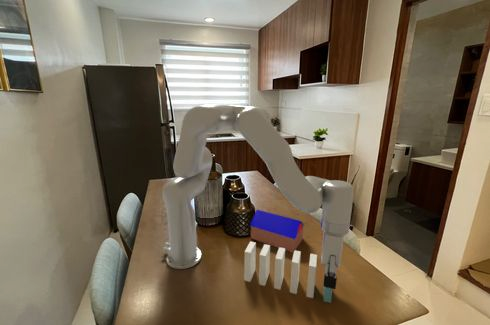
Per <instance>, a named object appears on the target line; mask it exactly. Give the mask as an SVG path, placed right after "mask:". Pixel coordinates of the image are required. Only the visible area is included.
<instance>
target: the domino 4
mask: <svg viewBox="0 0 490 325" xmlns="http://www.w3.org/2000/svg"><path fill="white" fill-rule="evenodd" d="M301 253H302V251H301V250H297V249H296V250H294V253H292V254H293V255H292V260H291V267H290V268H291V269H290V286H289V293H291V294H295V295H297V293H298V287H299V283H300V282H299V281H300V268H301V255H302V254H301Z"/></svg>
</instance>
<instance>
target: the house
mask: <svg viewBox="0 0 490 325" xmlns="http://www.w3.org/2000/svg"><path fill="white" fill-rule="evenodd" d="M249 226H250V239H252V240H255V241H257V242H259V243H260V242H261V243H263V244H266V245H270V246H272V247H276V248H278V249H279V247H281V248H285V251H287V252H290V253H292V254H294V250H296V251H297V249H298V247H299V246H300V244H301V243H302V241H303V237H304V227H305V224H304V223H303V222H302V220H299V219H296V218H290V217H287V216H283V215H280V214H276V213H272V212H267V211H264V210H260V209H256V210H255V212H254V215H253V217H252V220H251V222H250V225H249Z"/></svg>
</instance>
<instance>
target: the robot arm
mask: <svg viewBox="0 0 490 325" xmlns="http://www.w3.org/2000/svg"><path fill="white" fill-rule="evenodd" d="M225 131H232V132H233V131H234V132H239V133H240V135H241V136H242V137H243V138H244V139H245V141H246V142H247V143H248V144H249V145H250V146H251V147H252V149H253V150H254V151H255V152H256V153H257V154H258V156H259V157H260V158H261V160H262V161H263V162H264V163H265V164H266V167H267V169H268V171H269V174H270V175H271V178H272V179H273V181H274V182H275V184H276V186H277V188H278V189H279V190H280V192H281V193H282V194H283V196H284V197H285V199H287V200H288V202H289V203H290V204H291V205H292V206H293V208H295V209H296V210H297V211H298V212H299V211H300V212H302V213H304V214H314V213H316V212H318V211H319V210H320V208H321V209H322V210H321V220H320V229H321V230H322V231H323V235H322V242H321V243H322V244H321V254H320V259H321V260H320V264H321V265H322V266H325V271H326V274H325V273H324V277H323V288H324V287H327V288H331V289H332V290H335V289H336V287H337V280H338V276H337V270H338V269H339V268H340V267H341V261H342V253H343V245H344V238H345V237H344V236H347V235H348V234H349V233H350V223H351V217H352V210H353V203H354V202H353V201H354V193H355V192H354V191H355V189H354V186H353V185H352V184H351V183H350V182H348V181H345V180H338V179H337V180H336V179H333V180H330V179H327V178H321V177H318V176H314V175H307V176H305V175H304V174H303V172H302V171H301V170H300V168H299V167H298V165H297V163H296V161H295V159H294V155H293V152H292V148H291V146H290V144H289V142H288V141H287V140H286V139H285V138H284V137H283V136H282V135H281V133H280V132H279V130H277V129H276V127H275V126H274V125H273V123H272V118H271V114H270V113H269V112H268V110H266V109H264V108H263V107H259V106H247V105H237V104H236V105H234V104H219V103H217V104H215V103H214V104H213V103H212V104H201V105H196V106H194V107H192V108H190V109H189V110H188V111H186V113H185V115H184V116H183V119H182V123H181V128H180V134H179V139H178V141H177V145H176V151H175V155H174V159H173V165H172V167H173V171H174V174H175V175H176V177H175V178H173V179H170V180H169V181H168V182H167V183H165V185H164V187H163V189H162V199H163V202H164V206H165V209H166V210H165V211H166V214H167V228H168V237H169V242H167V241H166V242H164V244H163V248H162V252H167V253H168V254H167V256H166V263H167V265H168V266H169V267H170V268H172V269H176V270H185V269H188V268H191V267H192V268H193V267H194V266H195V265H197V264H198V263H199V262H200V261H201V258H202V251H201V250H200V248H198V246H197V230H196V229H197V228H196V226H197V224H196V214H195V209H194V207H193V205H192V200H193V199H195V198H196V197H197V196H200V194H202V192H203V191H204V190H205V187H206V185H207V183H208V179H209V175H210V172H211V168H212V166H213V155H212V153H211V150H209V148H208V147H207V146H206V145H207V140H208V139H207V134H217V133H222V132H225ZM328 262H330V264H328ZM328 267H330V270H329V271H328Z"/></svg>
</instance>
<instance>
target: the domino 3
mask: <svg viewBox="0 0 490 325" xmlns="http://www.w3.org/2000/svg"><path fill="white" fill-rule="evenodd" d="M285 257H286V250H285V248H281V247H279V248H278V250H277V252H276V255H275V258H274V259H275V260H274V282H273V288H274V289H275V290H279V291H281V289H282V284H283V281H284V278H285V259H286V258H285Z"/></svg>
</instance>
